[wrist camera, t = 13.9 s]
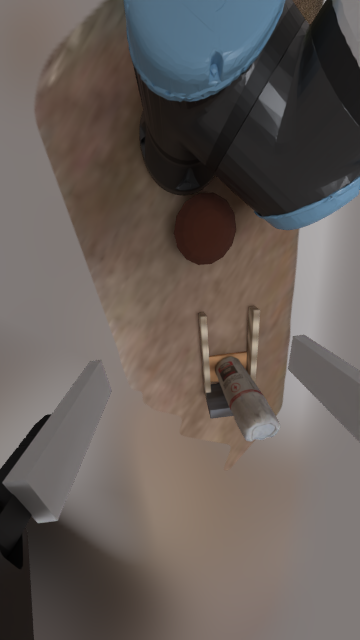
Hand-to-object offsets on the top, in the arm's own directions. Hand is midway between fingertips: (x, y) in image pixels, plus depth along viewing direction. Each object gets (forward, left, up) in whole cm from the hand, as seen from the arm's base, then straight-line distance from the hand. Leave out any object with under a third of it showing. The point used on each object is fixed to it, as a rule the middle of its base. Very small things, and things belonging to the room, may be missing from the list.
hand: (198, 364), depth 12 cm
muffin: (-11, -3, -32) cm, 34 cm away
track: (+7, +23, -32) cm, 40 cm away
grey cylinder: (+10, +27, -31) cm, 42 cm away
